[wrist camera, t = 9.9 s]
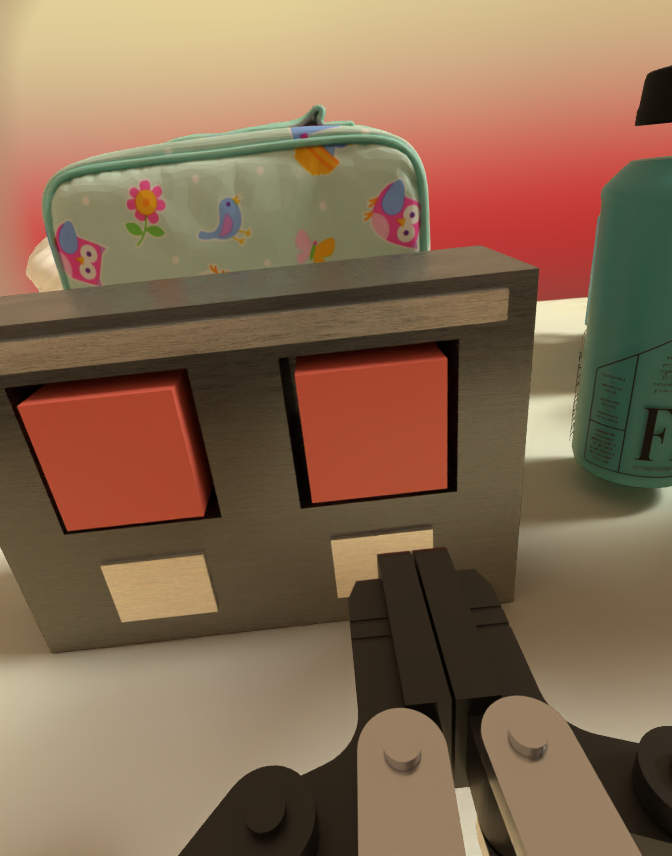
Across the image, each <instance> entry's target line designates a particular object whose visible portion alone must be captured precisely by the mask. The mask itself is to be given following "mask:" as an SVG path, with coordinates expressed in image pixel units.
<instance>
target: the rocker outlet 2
mask: <svg viewBox="0 0 672 856" xmlns="http://www.w3.org/2000/svg"><path fill="white" fill-rule="evenodd" d="M295 381H296V389H297V396H298V403H299V410H300V418H301V425H302V432H303V439H304V446H305V454H306V461H307V468H308V475H309V483H310V490H311V497H312V503H318V502H327V501H336V500H346V499H355V498H364V497H373V496H382V495H391V494H400V493H409V492H418V491H427V490H436V489H445V488H447V358H446V357H445V355H444V354H443V353H442V352H441V350H440V349H439V348H438V347H437V345H436V344H435V343H434V342H425V343H416V344H407V345H397V346H388V347H379V348H370V349H360V350H351V351H342V352H333V353H323V354H314V355H305V356H296V360H295Z"/></svg>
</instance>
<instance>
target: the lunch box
mask: <svg viewBox="0 0 672 856" xmlns="http://www.w3.org/2000/svg"><path fill="white" fill-rule="evenodd" d="M324 116H325V108H324V107H323V106H322V105H315V106H313V107H312V108H311V110H310V111H309V112H307V113H306V114H305V115H304V116H303V117H301V118H298V119H296V120H292V121H289V122H280V123H272V124H267V125H262V126H256V127H249V128H243V129H238V130H234V131H230V132H226V133H219V134H193V135H189V136H185V137H180V138H176V139H173V140H170V141H167V142H165V143H162V144H156V145H150V146H144V147H138V148H132V149H127V150H121V151H116V152H111V153H105V154H101V155H98V156H94V157H90V158H87V159H84V160H81V161H79V162H76V163H73V164H70V165H68V166H66V167H65V168H63V169H61V170H59V171H58V172H57V173H56V174H55V175H53V176H52V177H51V179H49V181H48V183H47V184H46V187H45V189H44V192H43V197H42V214H43V220H44V224H45V230H46V234H47V238H48V242H49V245H50V248H51V251H52V255H53V258H54V261H55V264H56V268H57V271H58V273H59V276H60V279H61V283H62V286H63V289H64V290H67V289H76V288H86V287H95V286H104V285H114V284H123V283H133V282H142V281H151V280H161V279H170V278H179V277H189V276H198V275H207V274H217V273H226V272H236V271H245V270H254V269H264V268H273V267H282V266H292V265H301V264H311V263H320V262H329V261H339V260H348V259H357V258H367V257H376V256H385V255H395V254H404V253H414V252H423V251H430V224H429V199H428V185H427V179H426V173H425V170H424V167H423V164H422V162H421V159H420V157H419V156H418V154H417V152H416V151H415V149H414V148H413V147H412V146H411V145H410V144H409V143H408V142H407V141H406V140H404V139H402V138H400V137H398V136H395V135H393V134H391V133H389V132H385V131H383V130H379V129H375V128H371V127H368V126H362V125H354V122H352V121H334V122H327V123H325V122H323V120H324Z"/></svg>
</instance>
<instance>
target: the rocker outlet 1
mask: <svg viewBox="0 0 672 856" xmlns="http://www.w3.org/2000/svg"><path fill="white" fill-rule="evenodd" d="M17 407H18V410H19V412H20V415H21V417H22V420H23V422H24V425H25V427H26V430H27V432H28V435H29V437H30V440H31V442H32V445H33V447H34V449H35V452H36V454H37V457H38V459H39V462H40V464H41V467H42V469H43V472H44V474H45V477H46V479H47V482H48V484H49V487H50V489H51V492H52V494H53V496H54V499H55V501H56V504H57V506H58V509H59V511H60V514H61V516H62V519H63V521H64V524H65V526H66V529H67V531H72V530H81V529H90V528H99V527H108V526H117V525H127V524H136V523H145V522H154V521H163V520H172V519H181V518H190V517H199V516H204V513H205V510H206V507H207V503H208V500H209V496H210V493H211V490H212V486H213V483H214V482H213V478H212V473H211V469H210V465H209V461H208V456H207V452H206V448H205V444H204V439H203V435H202V431H201V427H200V422H199V418H198V414H197V410H196V405H195V401H194V397H193V393H192V388H191V384H190V380H189V376H188V371H187V368H185V369H175V370H166V371H157V372H148V373H138V374H129V375H120V376H111V377H101V378H92V379H83V380H73V381H64V382H55V383H46V384H45V385H43V386H42V387H41V388H40V389H38V390H37V391H36V392H35V393H33V394H32V395H31V396H30V397H28V398H27V399H26V400H25V401H23V402H22V403H21V404H20V405H18V406H17Z"/></svg>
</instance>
